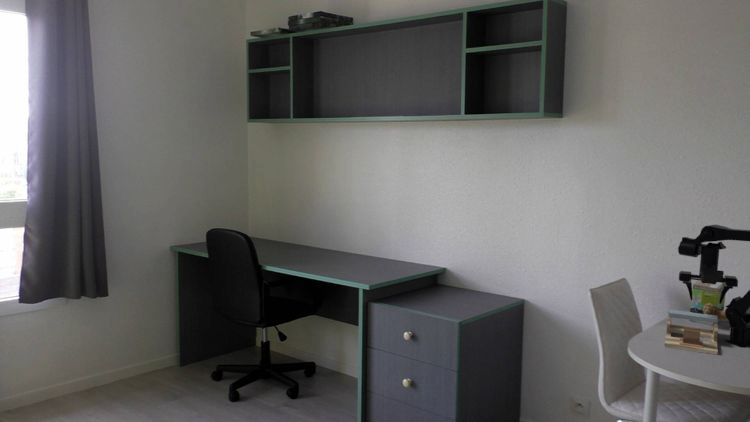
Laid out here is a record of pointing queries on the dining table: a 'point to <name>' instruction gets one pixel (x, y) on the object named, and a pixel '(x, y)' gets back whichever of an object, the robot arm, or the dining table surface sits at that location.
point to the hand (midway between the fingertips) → (705, 301)
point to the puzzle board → (702, 347)
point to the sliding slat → (693, 316)
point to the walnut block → (691, 335)
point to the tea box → (706, 297)
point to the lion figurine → (714, 312)
